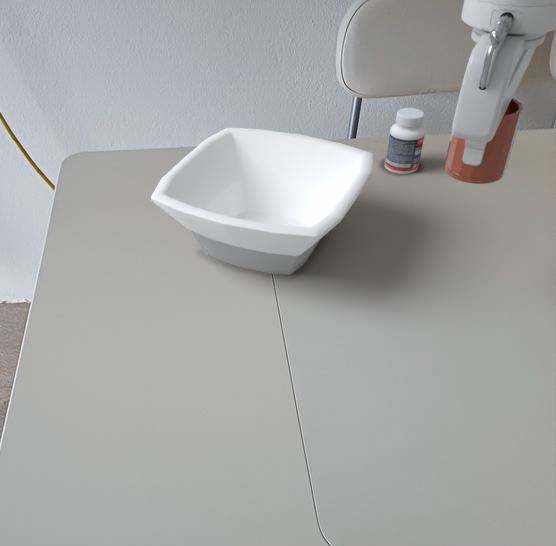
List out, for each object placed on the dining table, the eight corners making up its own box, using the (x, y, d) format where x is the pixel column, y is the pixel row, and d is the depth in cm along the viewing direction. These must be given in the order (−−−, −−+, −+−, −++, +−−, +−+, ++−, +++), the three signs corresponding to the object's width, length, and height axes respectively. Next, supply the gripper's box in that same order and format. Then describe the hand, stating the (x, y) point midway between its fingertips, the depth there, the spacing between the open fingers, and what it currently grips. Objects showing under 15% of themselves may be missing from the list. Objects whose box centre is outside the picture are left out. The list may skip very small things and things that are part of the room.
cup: (471, 151, 72) (487, 88, 67) (516, 172, 68) (536, 106, 63) (432, 167, 70) (445, 103, 65) (476, 189, 66) (493, 123, 61)
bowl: (376, 215, 93) (387, 148, 86) (316, 317, 77) (323, 245, 70) (225, 183, 102) (224, 120, 95) (142, 269, 86) (133, 200, 79)
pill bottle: (416, 177, 101) (427, 121, 95) (382, 173, 102) (391, 118, 96) (419, 161, 104) (429, 107, 98) (386, 158, 106) (394, 104, 100)
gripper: (536, 39, 50) (492, 199, 59) (569, -27, 63) (528, 113, 72) (452, 31, 52) (422, 186, 62) (500, -32, 65) (470, 104, 74)
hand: (480, 146), depth 67 cm, fingers closed on cup, 6 cm apart
